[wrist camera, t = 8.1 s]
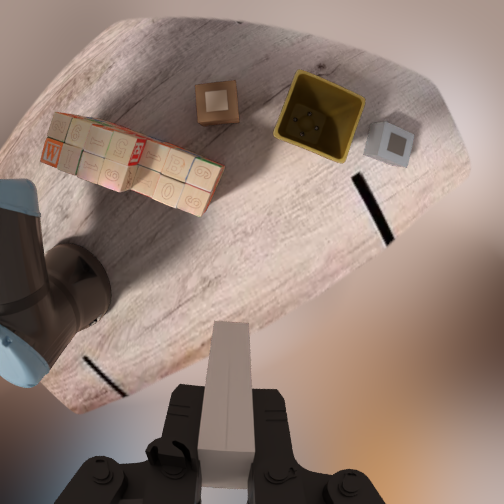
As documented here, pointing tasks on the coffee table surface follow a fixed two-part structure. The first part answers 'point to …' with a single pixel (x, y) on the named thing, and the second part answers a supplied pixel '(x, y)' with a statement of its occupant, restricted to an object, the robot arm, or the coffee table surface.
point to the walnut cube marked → (217, 103)
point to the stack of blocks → (131, 162)
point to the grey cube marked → (389, 144)
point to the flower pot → (319, 116)
